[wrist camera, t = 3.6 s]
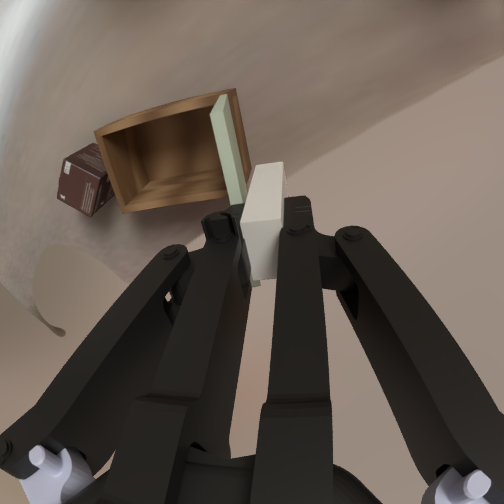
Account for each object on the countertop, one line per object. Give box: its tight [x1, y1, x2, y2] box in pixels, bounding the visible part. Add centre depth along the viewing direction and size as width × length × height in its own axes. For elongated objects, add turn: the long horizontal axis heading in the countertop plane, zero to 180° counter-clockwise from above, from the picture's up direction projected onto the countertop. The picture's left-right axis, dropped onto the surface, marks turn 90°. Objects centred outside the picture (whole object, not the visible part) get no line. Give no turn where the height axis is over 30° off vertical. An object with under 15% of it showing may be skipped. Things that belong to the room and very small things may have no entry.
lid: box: [210, 94, 260, 287], centre depth 21 cm, size 14×10×1 cm
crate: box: [94, 88, 251, 214], centre depth 31 cm, size 14×10×8 cm
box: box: [57, 143, 115, 217], centre depth 35 cm, size 6×6×7 cm
